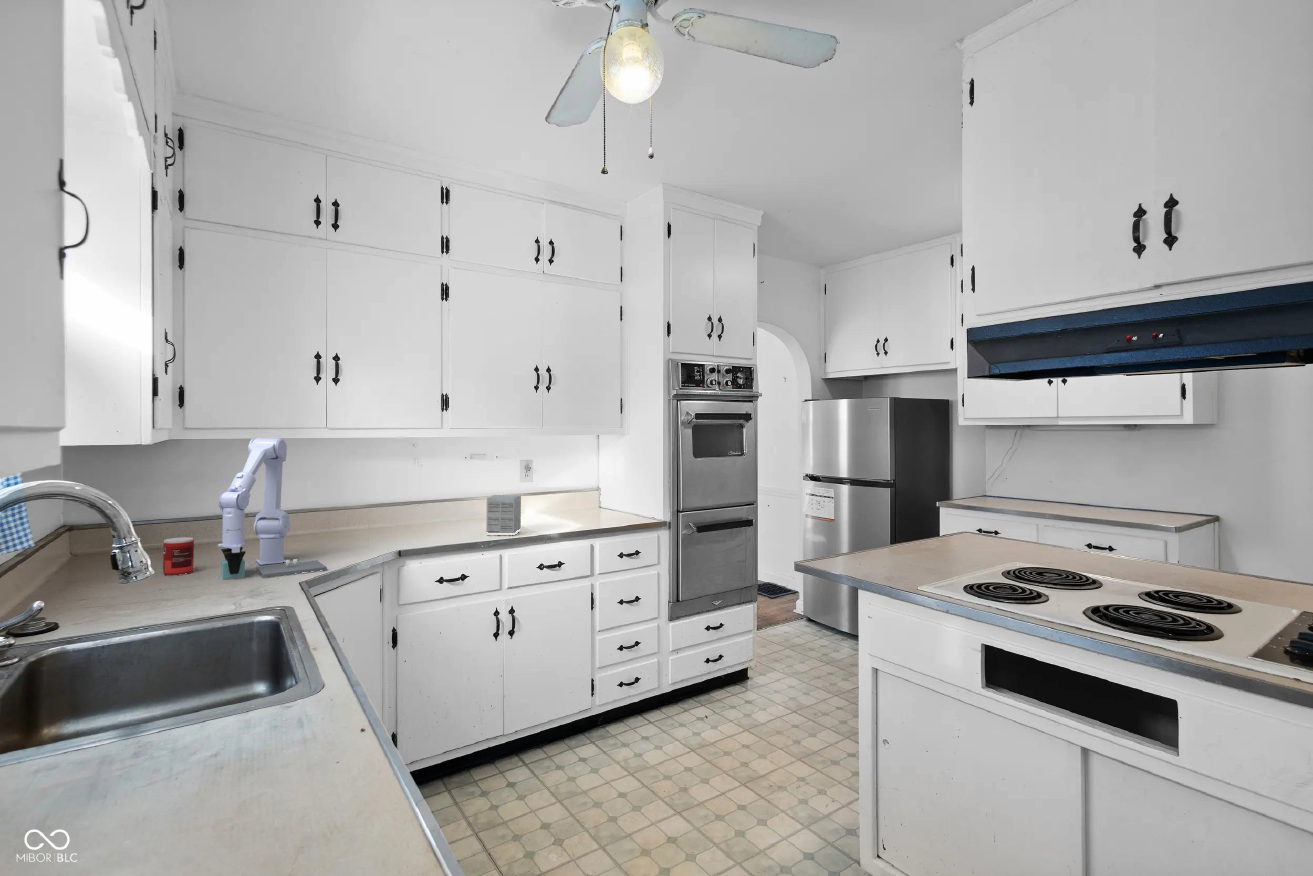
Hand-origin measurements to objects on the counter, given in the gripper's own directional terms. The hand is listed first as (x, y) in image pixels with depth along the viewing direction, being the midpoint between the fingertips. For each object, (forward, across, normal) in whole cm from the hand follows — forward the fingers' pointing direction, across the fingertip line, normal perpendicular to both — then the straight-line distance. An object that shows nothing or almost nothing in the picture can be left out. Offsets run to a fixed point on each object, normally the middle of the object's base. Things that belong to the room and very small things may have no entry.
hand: (233, 572), depth 194 cm
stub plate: (+1, +1, +16) cm, 16 cm away
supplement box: (+2, -29, +107) cm, 111 cm away
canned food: (+2, -16, -13) cm, 21 cm away
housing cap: (+1, 0, 0) cm, 1 cm away
